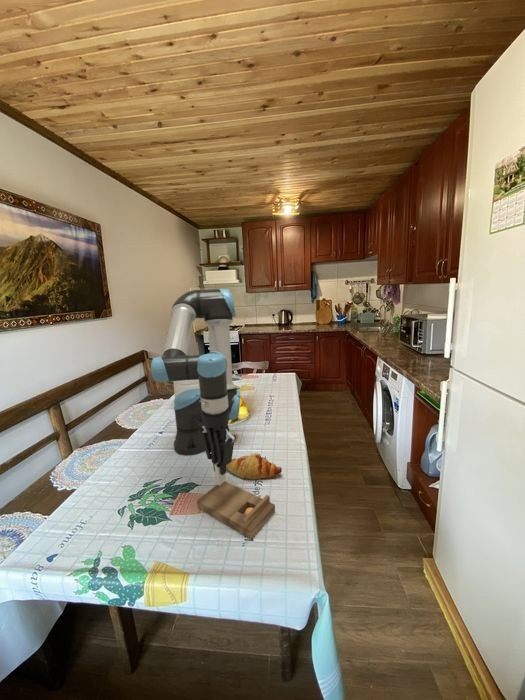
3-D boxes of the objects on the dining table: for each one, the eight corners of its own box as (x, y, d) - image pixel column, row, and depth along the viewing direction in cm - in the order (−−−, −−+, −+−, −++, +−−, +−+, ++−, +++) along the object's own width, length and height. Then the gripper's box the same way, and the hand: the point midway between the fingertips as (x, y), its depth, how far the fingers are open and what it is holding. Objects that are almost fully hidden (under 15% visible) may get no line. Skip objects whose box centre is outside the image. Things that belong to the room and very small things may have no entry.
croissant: (222, 481, 101) (216, 470, 96) (230, 455, 108) (225, 443, 103) (281, 489, 95) (277, 477, 90) (285, 461, 102) (282, 449, 98)
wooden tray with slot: (197, 508, 84) (196, 494, 83) (223, 487, 93) (222, 474, 92) (251, 539, 72) (250, 524, 71) (275, 512, 81) (274, 498, 80)
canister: (192, 399, 172) (189, 367, 168) (211, 404, 163) (208, 371, 159) (170, 408, 159) (166, 374, 155) (189, 415, 150) (185, 378, 146)
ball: (241, 510, 78) (250, 514, 76) (248, 503, 81) (257, 507, 79) (242, 521, 78) (252, 525, 77) (249, 513, 81) (258, 517, 79)
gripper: (189, 408, 80) (196, 481, 86) (223, 419, 73) (228, 498, 78) (208, 399, 86) (214, 468, 92) (241, 409, 79) (245, 482, 84)
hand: (220, 481), depth 85 cm, fingers closed
